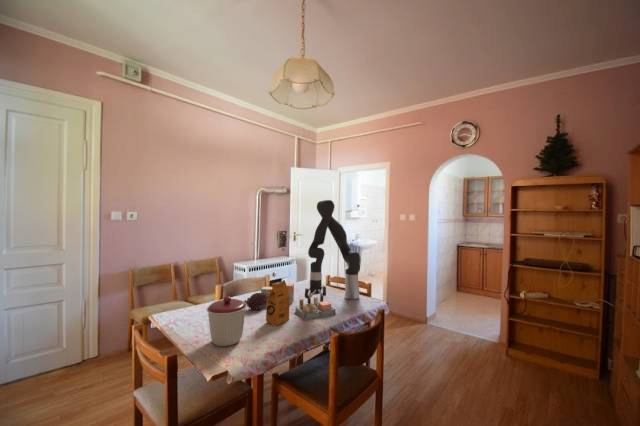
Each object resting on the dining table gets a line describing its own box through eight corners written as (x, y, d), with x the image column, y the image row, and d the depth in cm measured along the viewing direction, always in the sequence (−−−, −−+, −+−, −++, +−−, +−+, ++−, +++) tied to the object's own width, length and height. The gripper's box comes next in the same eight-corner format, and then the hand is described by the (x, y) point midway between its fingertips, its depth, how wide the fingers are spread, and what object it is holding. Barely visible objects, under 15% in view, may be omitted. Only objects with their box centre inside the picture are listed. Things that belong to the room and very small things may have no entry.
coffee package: (263, 322, 151) (263, 282, 151) (278, 315, 162) (279, 278, 161) (276, 327, 146) (276, 285, 145) (291, 319, 156) (292, 281, 156)
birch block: (304, 307, 175) (305, 298, 175) (316, 316, 161) (316, 306, 161) (296, 309, 173) (296, 299, 172) (307, 318, 158) (307, 308, 158)
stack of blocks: (260, 302, 184) (260, 284, 184) (263, 299, 190) (263, 282, 190) (292, 304, 183) (292, 285, 182) (293, 300, 189) (294, 282, 189)
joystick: (318, 305, 180) (318, 296, 180) (331, 313, 166) (331, 303, 165) (310, 306, 177) (310, 297, 177) (322, 315, 163) (322, 305, 163)
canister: (252, 343, 127) (253, 298, 127) (211, 355, 117) (212, 305, 117) (239, 329, 142) (239, 289, 142) (202, 338, 132) (202, 294, 131)
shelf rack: (324, 306, 178) (324, 302, 178) (335, 314, 165) (335, 309, 165) (295, 311, 168) (295, 306, 168) (305, 319, 156) (305, 314, 156)
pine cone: (265, 303, 182) (265, 288, 182) (273, 307, 175) (274, 292, 175) (240, 309, 170) (240, 293, 170) (248, 314, 163) (248, 297, 163)
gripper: (322, 276, 184) (322, 300, 184) (303, 278, 177) (302, 303, 177) (328, 278, 177) (327, 303, 177) (308, 280, 171) (307, 307, 171)
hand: (315, 303), depth 177 cm, fingers open, 8 cm apart
